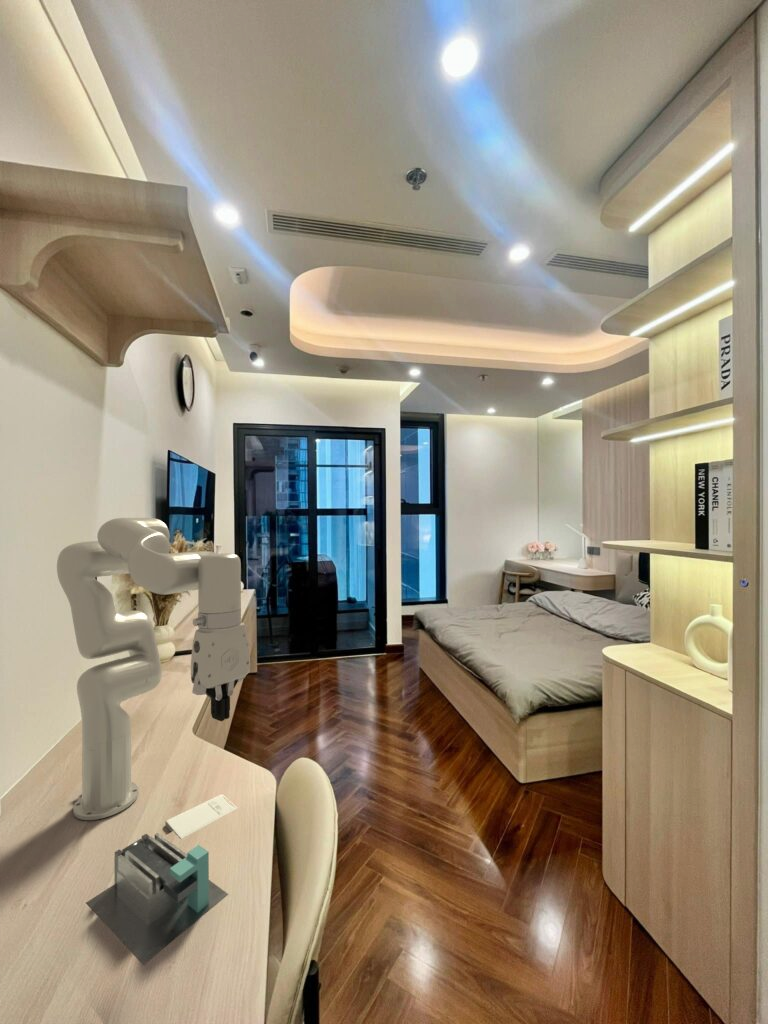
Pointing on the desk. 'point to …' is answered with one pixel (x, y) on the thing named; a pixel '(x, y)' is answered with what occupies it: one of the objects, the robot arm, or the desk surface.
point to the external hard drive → (199, 816)
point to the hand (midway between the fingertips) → (220, 717)
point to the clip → (195, 876)
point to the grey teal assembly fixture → (147, 902)
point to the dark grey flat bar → (162, 871)
